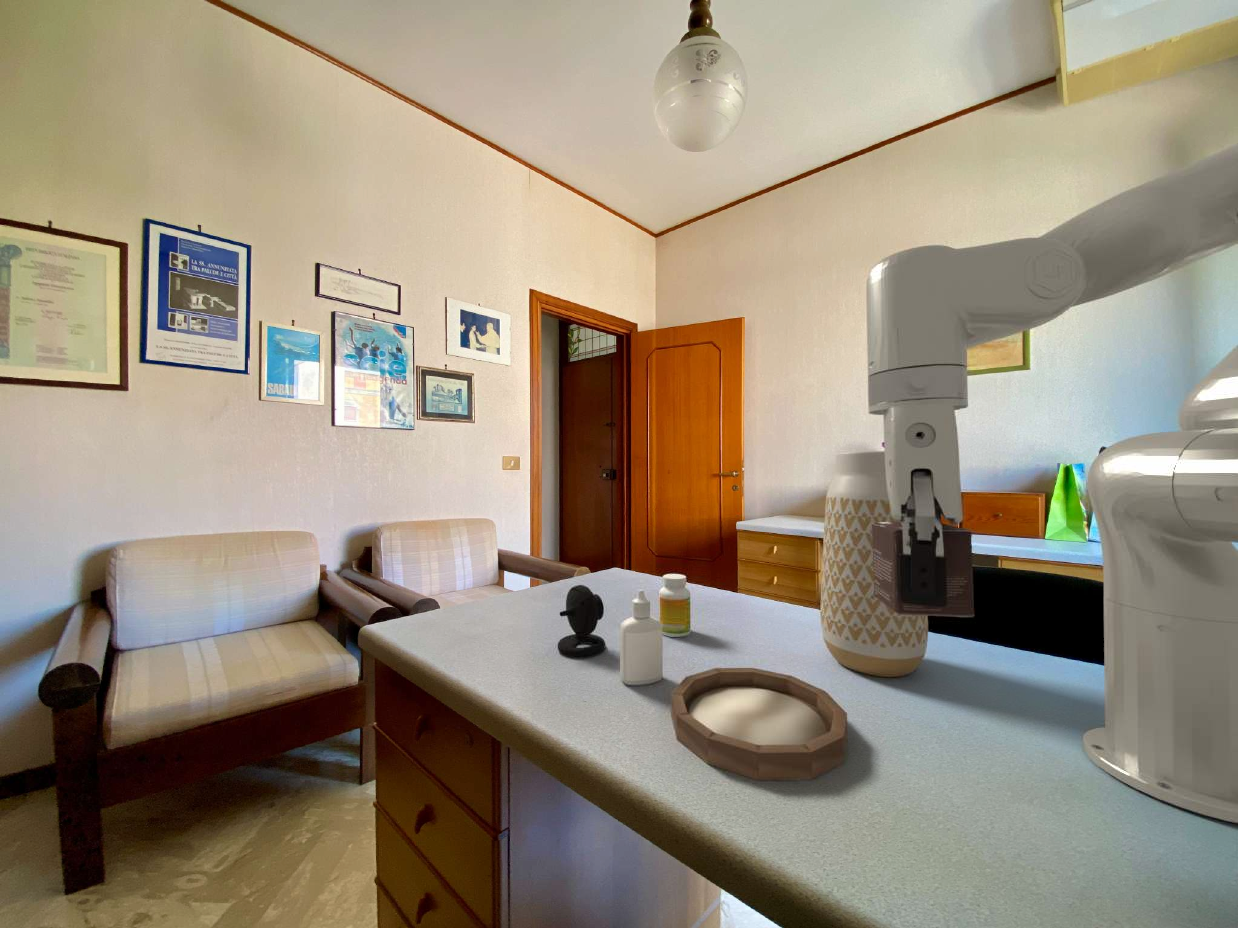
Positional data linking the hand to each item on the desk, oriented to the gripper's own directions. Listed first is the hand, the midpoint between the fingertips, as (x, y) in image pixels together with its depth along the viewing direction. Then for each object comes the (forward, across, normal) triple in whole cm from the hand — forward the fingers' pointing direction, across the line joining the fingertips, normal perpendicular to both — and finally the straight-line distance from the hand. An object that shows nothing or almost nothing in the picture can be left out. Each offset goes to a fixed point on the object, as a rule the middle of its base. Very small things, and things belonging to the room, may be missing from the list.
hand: (919, 590), depth 42 cm
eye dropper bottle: (+17, +7, +31) cm, 36 cm away
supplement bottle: (+17, +26, +34) cm, 46 cm away
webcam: (+17, +12, +44) cm, 49 cm away
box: (+2, 0, 0) cm, 2 cm away
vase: (+18, +28, +4) cm, 33 cm away
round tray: (+17, +3, +15) cm, 23 cm away
